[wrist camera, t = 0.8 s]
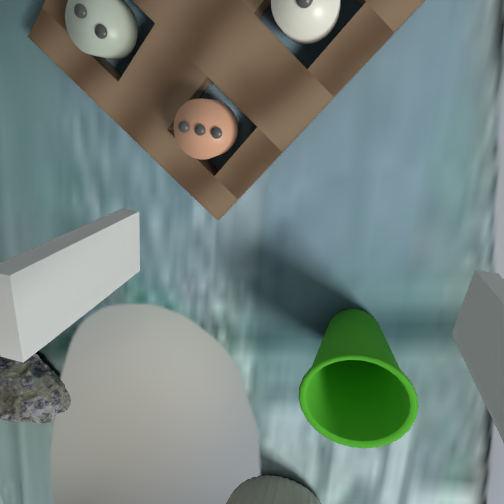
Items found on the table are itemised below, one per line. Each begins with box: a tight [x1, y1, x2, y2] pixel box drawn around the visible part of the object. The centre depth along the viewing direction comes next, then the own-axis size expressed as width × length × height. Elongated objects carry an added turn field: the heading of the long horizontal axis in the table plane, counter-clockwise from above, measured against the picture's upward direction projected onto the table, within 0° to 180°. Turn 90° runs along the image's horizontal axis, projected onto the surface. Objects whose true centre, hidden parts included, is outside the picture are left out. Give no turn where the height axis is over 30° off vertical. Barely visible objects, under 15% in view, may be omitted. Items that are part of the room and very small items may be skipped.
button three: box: [174, 99, 238, 159], centre depth 32 cm, size 5×5×3 cm
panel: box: [28, 0, 425, 220], centre depth 31 cm, size 24×24×2 cm
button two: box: [65, 0, 138, 60], centre depth 31 cm, size 5×5×3 cm
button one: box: [271, 0, 340, 44], centre depth 27 cm, size 5×5×3 cm
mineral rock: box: [0, 354, 70, 424], centre depth 48 cm, size 13×11×10 cm
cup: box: [299, 309, 418, 448], centre depth 34 cm, size 9×9×11 cm
